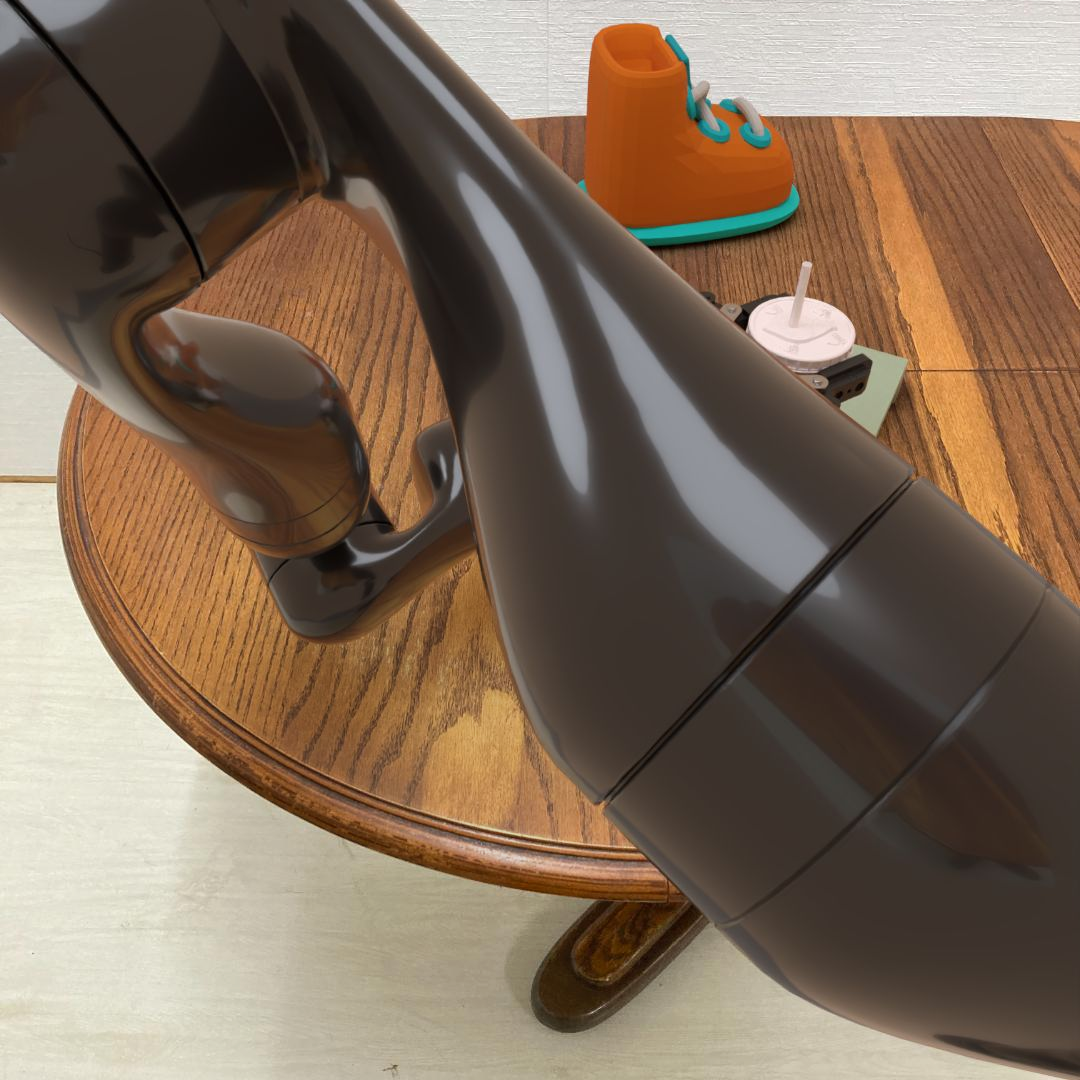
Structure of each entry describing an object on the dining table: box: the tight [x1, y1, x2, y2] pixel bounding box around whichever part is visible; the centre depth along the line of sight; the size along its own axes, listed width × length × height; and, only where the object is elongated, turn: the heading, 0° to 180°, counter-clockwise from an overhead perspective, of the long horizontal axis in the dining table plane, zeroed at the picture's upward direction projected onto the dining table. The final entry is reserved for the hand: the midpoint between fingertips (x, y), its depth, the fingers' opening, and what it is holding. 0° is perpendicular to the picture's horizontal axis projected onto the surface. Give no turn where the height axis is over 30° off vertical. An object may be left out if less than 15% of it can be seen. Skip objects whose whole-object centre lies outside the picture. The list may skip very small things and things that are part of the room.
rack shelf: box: [840, 343, 910, 438], centre depth 77 cm, size 18×11×3 cm, turn 153°
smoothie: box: [746, 261, 856, 375], centre depth 67 cm, size 6×6×14 cm
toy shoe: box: [576, 22, 800, 247], centre depth 93 cm, size 12×20×15 cm, turn 103°
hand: (826, 337), depth 67 cm, fingers closed on smoothie, 6 cm apart
